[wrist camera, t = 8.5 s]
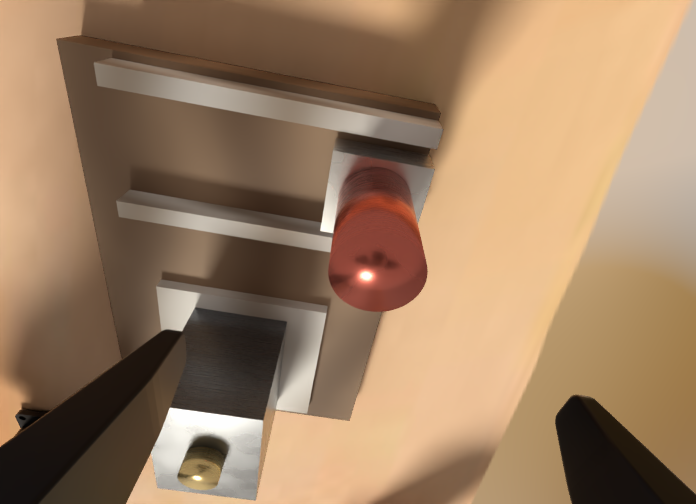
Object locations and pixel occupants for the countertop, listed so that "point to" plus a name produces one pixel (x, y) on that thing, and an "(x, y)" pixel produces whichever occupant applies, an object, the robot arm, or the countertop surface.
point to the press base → (228, 200)
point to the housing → (222, 406)
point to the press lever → (376, 224)
